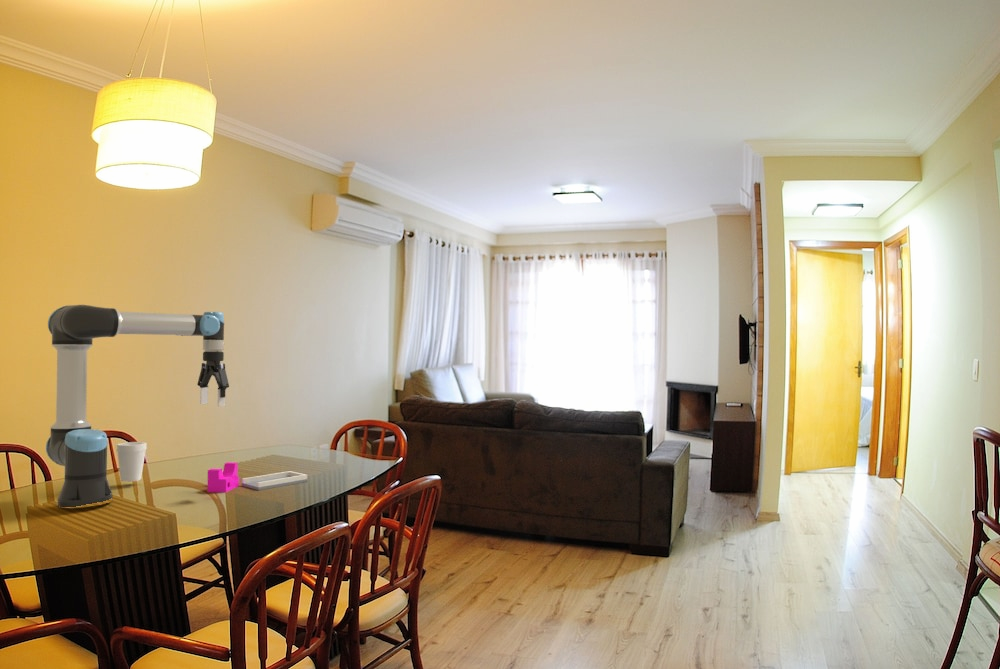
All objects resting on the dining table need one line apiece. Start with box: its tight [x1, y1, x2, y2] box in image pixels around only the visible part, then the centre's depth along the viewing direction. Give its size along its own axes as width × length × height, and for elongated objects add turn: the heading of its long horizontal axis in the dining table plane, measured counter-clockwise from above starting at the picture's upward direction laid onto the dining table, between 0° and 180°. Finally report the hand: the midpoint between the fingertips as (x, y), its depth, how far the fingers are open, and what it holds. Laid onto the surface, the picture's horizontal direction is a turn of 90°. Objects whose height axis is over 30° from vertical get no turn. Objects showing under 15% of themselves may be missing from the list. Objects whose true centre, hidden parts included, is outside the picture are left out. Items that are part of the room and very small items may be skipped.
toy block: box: [206, 461, 240, 493], centre depth 231 cm, size 15×6×8 cm, turn 179°
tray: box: [241, 470, 308, 491], centre depth 238 cm, size 19×11×2 cm, turn 140°
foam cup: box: [116, 441, 147, 482], centre depth 244 cm, size 10×9×13 cm
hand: (212, 405), depth 265 cm, fingers open, 13 cm apart
